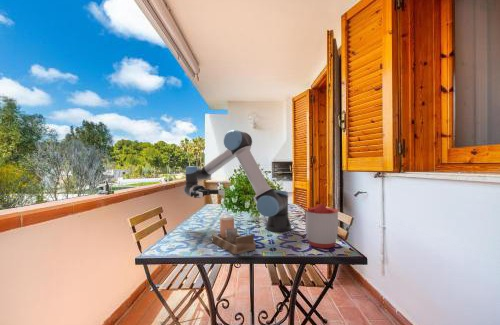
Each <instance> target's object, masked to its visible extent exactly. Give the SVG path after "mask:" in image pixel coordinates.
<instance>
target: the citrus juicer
mask: <svg viewBox="0 0 500 325" xmlns="http://www.w3.org/2000/svg"><path fill="white" fill-rule="evenodd" d="M338 212H339V210H338V209H336V208H331V207H326V206H325V205H324V204H323V203H319V204H318V205H317V206H315V207H313V206H312V207H307V209H304V215H303V216H302V217H301V220H304V221H305V232H306V233H305V234H306V237H307V241H308V244H309V245H310V246H311V247H315V248H321V249H330V248H333V247H335V246H336V245H335V244H336V242H337V239H338V233H339V213H338Z"/></svg>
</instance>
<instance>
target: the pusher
mask: <svg viewBox="0 0 500 325" xmlns="http://www.w3.org/2000/svg"><path fill="white" fill-rule="evenodd" d="M237 234H238V227H235V226H234V228H229V229H225V240H226V241H228V242H230V243H233V242H236V237H237Z"/></svg>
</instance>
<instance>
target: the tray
mask: <svg viewBox="0 0 500 325" xmlns="http://www.w3.org/2000/svg"><path fill="white" fill-rule="evenodd" d="M254 236H255V235H254V234H253V233H251V234H247V235H240V234H238V233H237V237H236V242H233V243H230V242H228V241H226V240H224V239H222V238H220V235H215V234H212V237H211V238H212V239H211V240H212V243H214V244H215V245H217V246H218V247H221V248H223V249H224V250H226V251H228V252H229V253H232V255H240V254H243V253H248V252H252V251H255V250H256V249H257V248H256V241H255V240H254V239H255V237H254Z"/></svg>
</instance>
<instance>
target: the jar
mask: <svg viewBox="0 0 500 325" xmlns="http://www.w3.org/2000/svg"><path fill="white" fill-rule="evenodd" d="M229 228H235V217H234V215H228V214H226V215H220V219H219V234H220V235H219V236H220V238H222V239H224V240H225V229H229Z"/></svg>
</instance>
